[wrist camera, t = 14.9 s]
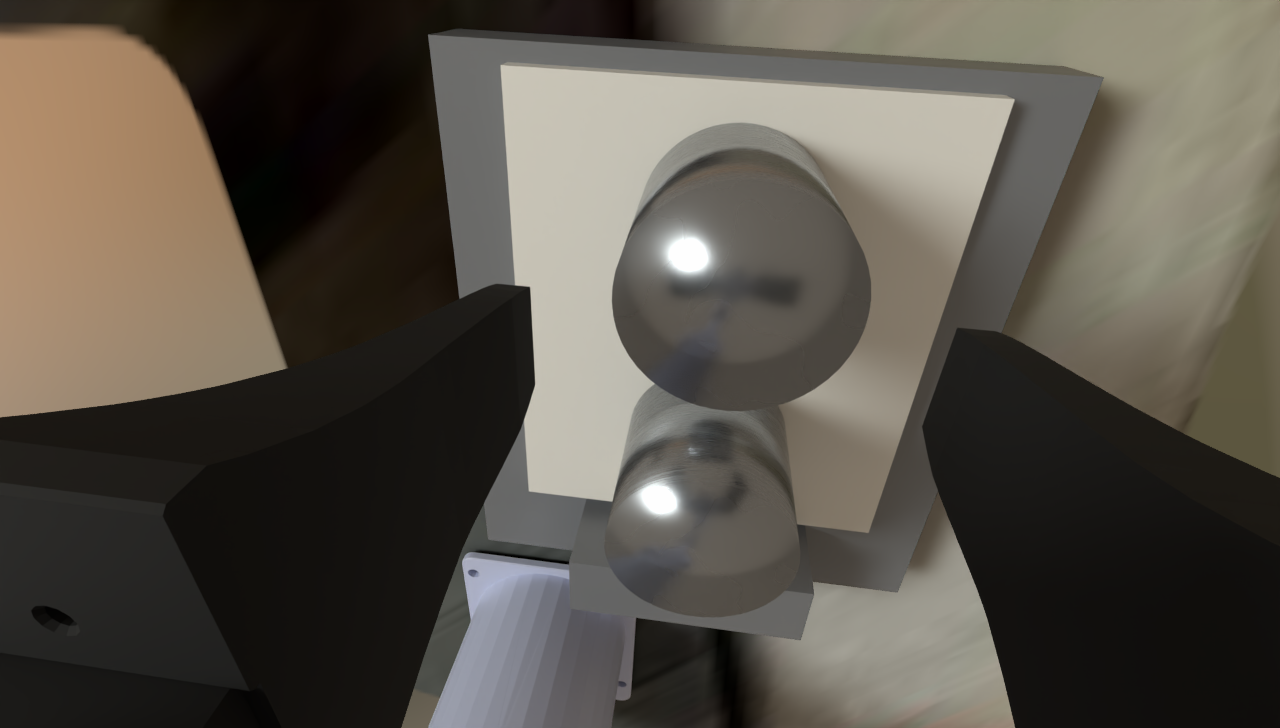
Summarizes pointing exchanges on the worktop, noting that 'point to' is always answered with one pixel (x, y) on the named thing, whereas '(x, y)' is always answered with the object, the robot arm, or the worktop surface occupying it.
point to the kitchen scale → (871, 201)
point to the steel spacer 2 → (703, 508)
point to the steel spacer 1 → (740, 272)
